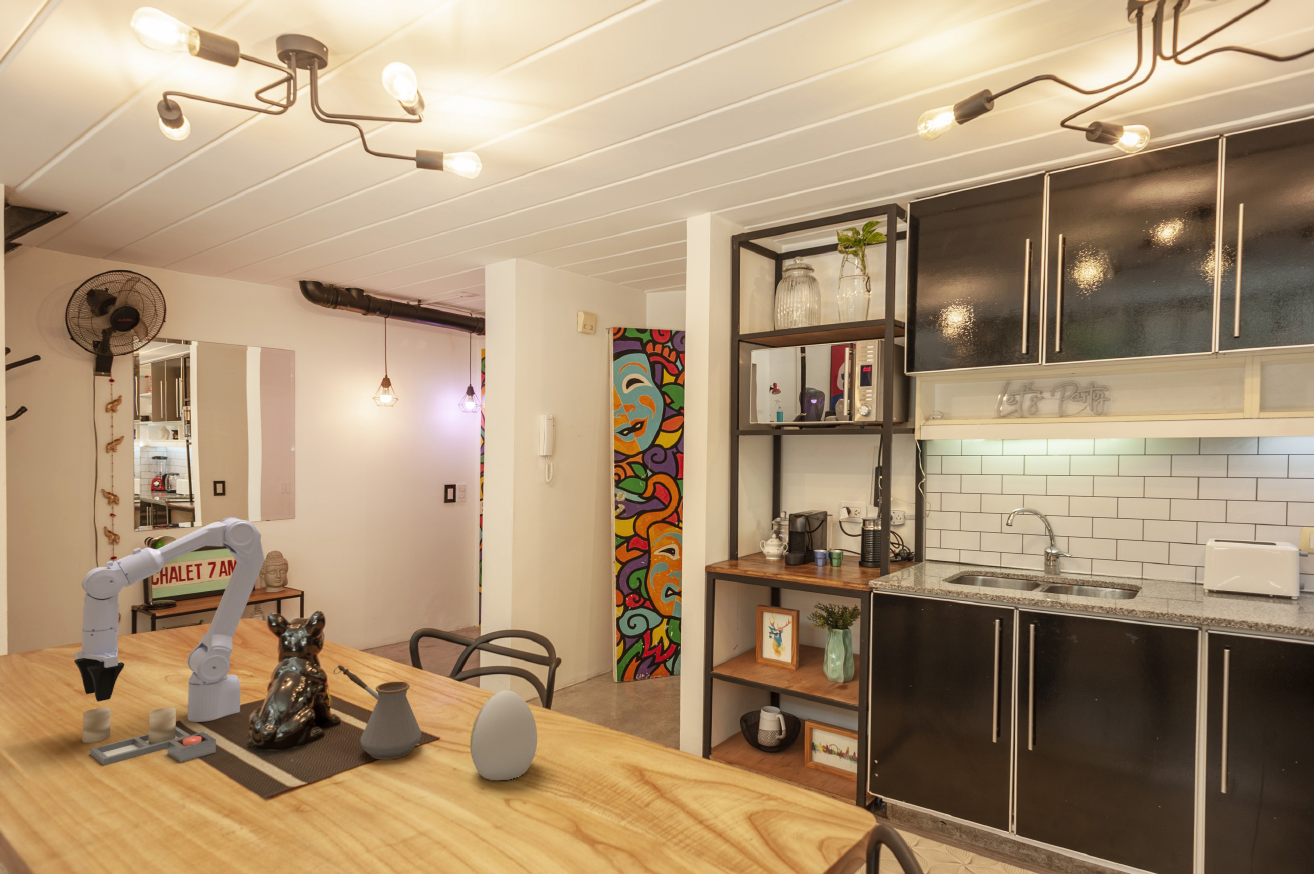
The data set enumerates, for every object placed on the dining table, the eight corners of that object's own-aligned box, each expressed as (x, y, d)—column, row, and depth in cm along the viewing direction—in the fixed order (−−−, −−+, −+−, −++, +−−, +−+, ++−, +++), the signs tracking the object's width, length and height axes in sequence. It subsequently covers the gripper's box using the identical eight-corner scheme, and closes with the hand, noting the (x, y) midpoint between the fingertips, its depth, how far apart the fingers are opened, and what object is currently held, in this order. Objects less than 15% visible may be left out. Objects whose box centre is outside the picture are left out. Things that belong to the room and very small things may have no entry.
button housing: (202, 749, 142) (202, 731, 142) (215, 757, 139) (215, 739, 139) (167, 759, 138) (168, 741, 138) (180, 768, 134) (180, 749, 134)
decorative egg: (513, 752, 144) (514, 677, 144) (549, 772, 135) (551, 692, 135) (457, 770, 135) (459, 690, 136) (492, 793, 127) (494, 707, 127)
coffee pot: (433, 746, 146) (435, 672, 146) (390, 768, 136) (392, 688, 136) (357, 727, 155) (359, 657, 156) (311, 746, 145) (313, 671, 145)
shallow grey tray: (175, 737, 148) (176, 726, 148) (191, 746, 144) (191, 735, 144) (89, 760, 137) (90, 748, 137) (103, 771, 132) (103, 759, 132)
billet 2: (170, 735, 146) (171, 706, 146) (178, 741, 143) (179, 710, 143) (144, 742, 142) (145, 712, 143) (153, 748, 140) (153, 717, 140)
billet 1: (105, 735, 147) (106, 706, 147) (113, 741, 145) (114, 711, 145) (78, 742, 144) (80, 711, 144) (86, 748, 141) (87, 717, 141)
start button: (197, 747, 140) (197, 734, 140) (203, 751, 138) (204, 738, 138) (179, 752, 138) (180, 739, 138) (186, 756, 136) (186, 743, 136)
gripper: (64, 625, 146) (61, 693, 146) (87, 637, 137) (84, 709, 137) (106, 619, 152) (104, 685, 151) (131, 631, 143) (129, 700, 142)
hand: (97, 696), depth 144 cm, fingers open, 6 cm apart
